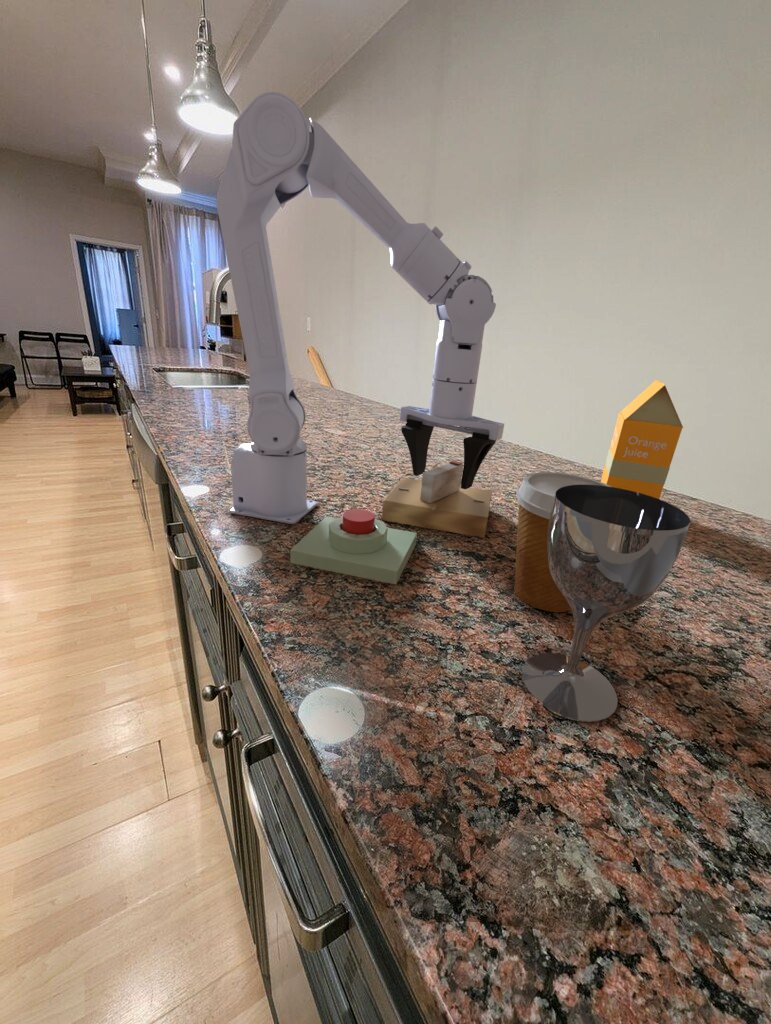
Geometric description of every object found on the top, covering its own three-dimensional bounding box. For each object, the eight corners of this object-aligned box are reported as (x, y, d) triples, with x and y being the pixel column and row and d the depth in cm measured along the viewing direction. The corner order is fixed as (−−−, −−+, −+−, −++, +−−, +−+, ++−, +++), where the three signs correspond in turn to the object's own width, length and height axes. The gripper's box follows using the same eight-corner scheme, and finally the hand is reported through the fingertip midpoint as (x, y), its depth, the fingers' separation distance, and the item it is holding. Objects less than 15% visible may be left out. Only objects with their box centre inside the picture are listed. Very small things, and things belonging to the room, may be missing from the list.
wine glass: (501, 650, 38) (536, 482, 32) (590, 650, 39) (639, 486, 33) (538, 728, 30) (592, 528, 25) (647, 725, 31) (723, 532, 26)
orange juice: (597, 511, 70) (633, 380, 63) (596, 495, 78) (627, 376, 70) (653, 522, 68) (697, 387, 60) (645, 503, 75) (684, 382, 68)
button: (337, 532, 50) (338, 518, 49) (348, 520, 53) (349, 507, 52) (368, 538, 49) (369, 523, 48) (377, 525, 52) (378, 512, 51)
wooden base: (380, 522, 61) (381, 500, 60) (401, 494, 72) (402, 475, 71) (483, 540, 58) (487, 517, 57) (489, 507, 69) (492, 488, 68)
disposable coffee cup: (604, 630, 41) (641, 511, 37) (499, 612, 43) (522, 496, 38) (583, 579, 50) (611, 477, 45) (496, 566, 52) (515, 466, 47)
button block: (290, 563, 49) (289, 534, 47) (325, 528, 58) (326, 503, 56) (396, 585, 46) (398, 555, 45) (415, 545, 55) (418, 519, 54)
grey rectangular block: (430, 503, 60) (434, 473, 59) (419, 500, 61) (422, 470, 60) (459, 490, 66) (463, 462, 64) (449, 487, 67) (453, 460, 65)
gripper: (519, 386, 57) (501, 486, 62) (422, 373, 64) (413, 463, 70) (498, 389, 52) (480, 499, 57) (395, 374, 59) (387, 472, 64)
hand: (441, 480), depth 63 cm, fingers open, 7 cm apart
